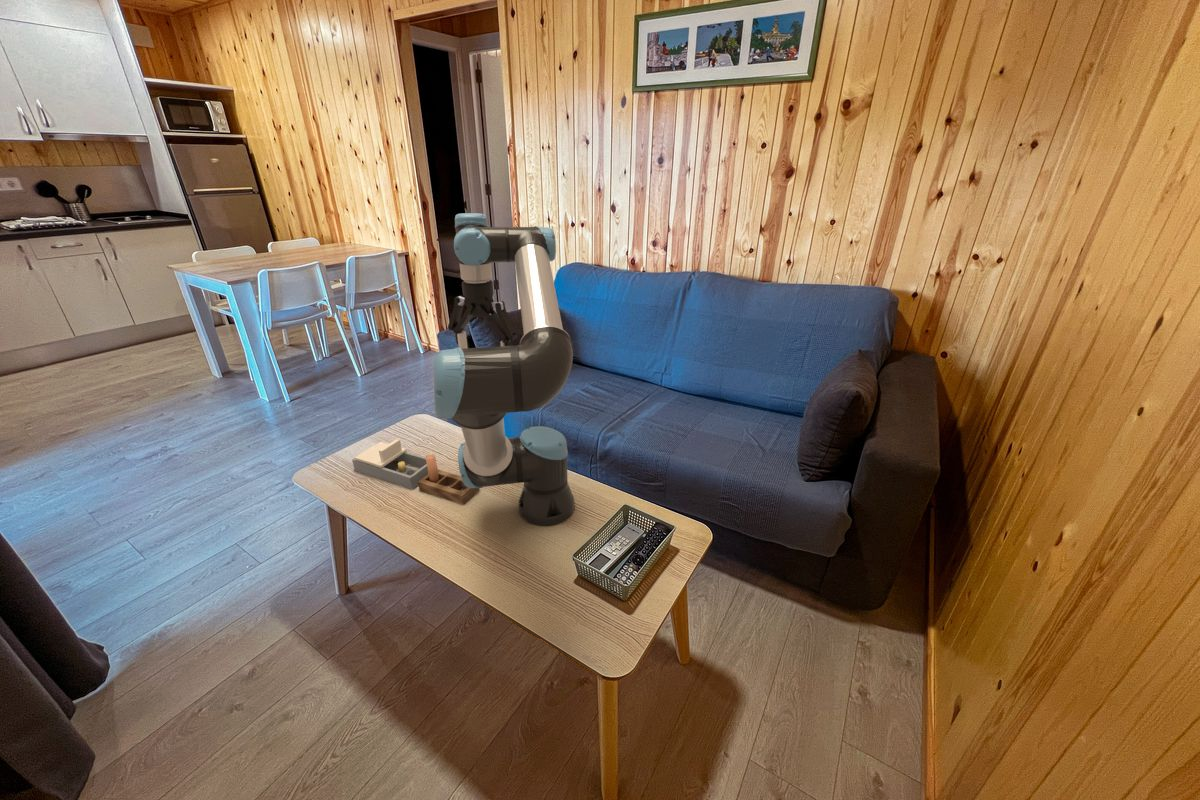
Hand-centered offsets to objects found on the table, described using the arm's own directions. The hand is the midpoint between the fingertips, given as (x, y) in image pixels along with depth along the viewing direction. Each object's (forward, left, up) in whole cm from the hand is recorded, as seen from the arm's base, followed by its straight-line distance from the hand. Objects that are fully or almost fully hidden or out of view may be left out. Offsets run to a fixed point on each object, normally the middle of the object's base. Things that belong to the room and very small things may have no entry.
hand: (484, 359), depth 125 cm
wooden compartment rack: (+7, +13, -37) cm, 40 cm away
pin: (+12, +13, -37) cm, 41 cm away
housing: (+28, +12, -37) cm, 48 cm away
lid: (+33, +12, -32) cm, 48 cm away
